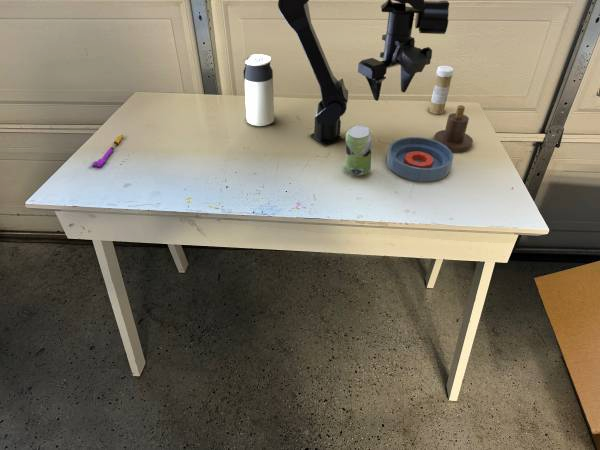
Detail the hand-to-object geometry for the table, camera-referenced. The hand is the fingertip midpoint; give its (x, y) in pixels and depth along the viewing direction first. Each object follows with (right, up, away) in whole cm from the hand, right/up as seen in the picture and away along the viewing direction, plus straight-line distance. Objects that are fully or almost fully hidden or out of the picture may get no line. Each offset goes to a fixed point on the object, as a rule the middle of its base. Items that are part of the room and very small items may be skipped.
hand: (389, 96), depth 114 cm
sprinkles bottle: (+19, +2, +23) cm, 30 cm away
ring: (+7, -17, -1) cm, 19 cm away
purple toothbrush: (-73, -14, +3) cm, 74 cm away
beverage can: (-9, -20, -3) cm, 22 cm away
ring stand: (+19, -11, +8) cm, 23 cm away
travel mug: (-34, -2, +18) cm, 39 cm away
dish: (+7, -18, -1) cm, 19 cm away
